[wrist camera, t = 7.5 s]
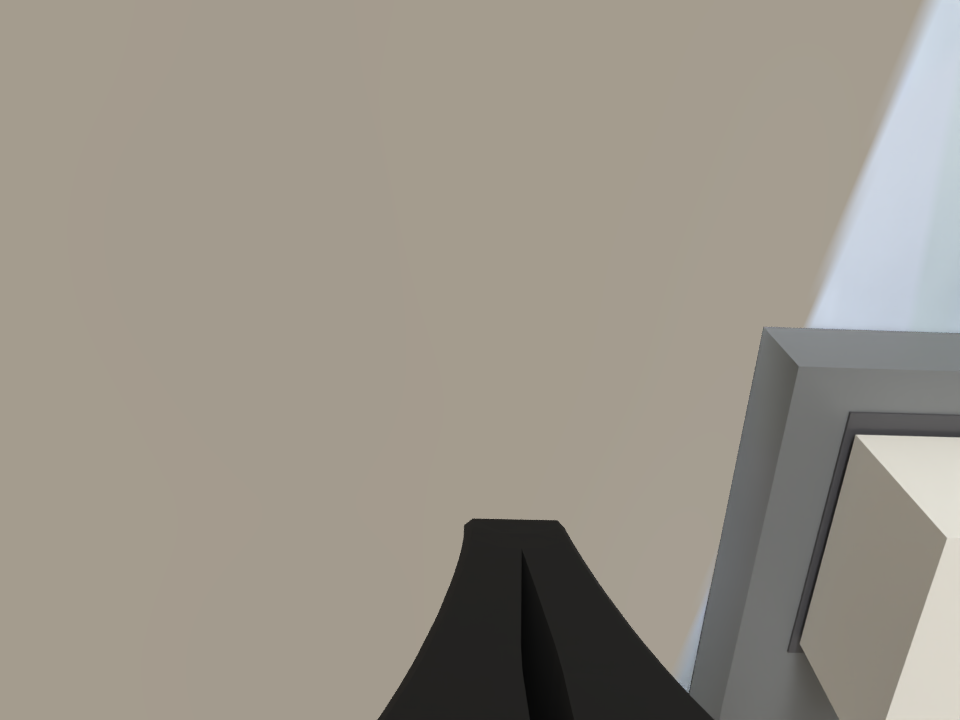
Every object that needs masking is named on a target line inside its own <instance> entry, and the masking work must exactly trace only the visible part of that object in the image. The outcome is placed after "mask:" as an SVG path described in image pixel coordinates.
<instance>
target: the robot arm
mask: <svg viewBox="0 0 960 720" xmlns="http://www.w3.org/2000/svg"><path fill="white" fill-rule="evenodd" d="M378 720H714V719H713V718H712V717H711V716H710V715H709V714H708V713H707V712H706V711H705V710H704V709H703V708H702V707H701V706H700V705H699V704H698V703H697V702H696V701H695V700H694V699H693V698H692V697H691V696H690V695H689V694H688V693H687V691H686V690H685V689H684V688H683V687H682V686H681V685H680V684H679V683H678V682H677V681H676V680H675V679H674V677H673V676H672V675H671V674H670V673H669V672H668V671H667V670H666V668H665V667H664V666H663V665H662V664H661V663H660V662H659V660H658V659H657V658H656V657H655V656H654V654H653V653H652V652H651V651H650V650H649V649H648V647H647V646H646V645H645V644H644V643H643V641H642V640H641V639H640V638H639V636H638V635H637V634H636V633H635V631H634V630H633V629H632V628H631V626H630V625H629V624H628V622H627V621H626V620H625V618H624V617H623V616H622V614H621V613H620V612H619V610H618V609H617V608H616V606H615V605H614V604H613V602H612V601H611V600H610V599H609V597H608V596H607V594H606V593H605V591H604V590H603V588H602V587H601V586H600V584H599V583H598V581H597V580H596V578H595V577H594V575H593V574H592V572H591V571H590V569H589V568H588V566H587V565H586V563H585V562H584V560H583V559H582V557H581V555H580V554H579V552H578V551H577V549H576V548H575V546H574V544H573V542H572V541H571V539H570V537H569V536H568V534H567V532H566V530H565V528H564V527H563V526H562V525H561V524H560V523H559V522H558V521H556V520H508V519H472V520H470V521H469V522H468V523H467V524H465V525H464V539H463V545H462V549H461V553H460V557H459V561H458V563H457V566H456V569H455V573H454V576H453V578H452V581H451V584H450V586H449V589H448V591H447V593H446V596H445V598H444V601H443V603H442V606H441V608H440V610H439V613H438V615H437V617H436V619H435V622H434V624H433V625H432V627H431V629H430V631H429V633H428V636H427V637H426V639H425V641H424V643H423V645H422V647H421V649H420V651H419V653H418V655H417V657H416V659H415V660H414V662H413V664H412V666H411V668H410V669H409V671H408V673H407V674H406V676H405V678H404V679H403V681H402V683H401V685H400V686H399V688H398V689H397V691H396V692H395V694H394V696H393V697H392V699H391V700H390V702H389V704H388V705H387V707H386V708H385V710H384V711H383V713H382V714H381V716H380V717H379V718H378Z"/></svg>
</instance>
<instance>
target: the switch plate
mask: <svg viewBox="0 0 960 720" xmlns="http://www.w3.org/2000/svg"><path fill="white" fill-rule="evenodd" d="M855 435H887V436H924V437H960V333H932V332H902V331H872V330H842V329H812V328H780V327H764V328H763V332H762V337H761V342H760V347H759V352H758V357H757V362H756V367H755V372H754V377H753V382H752V387H751V391H750V396H749V402H748V406H747V411H746V416H745V421H744V426H743V431H742V436H741V441H740V446H739V451H738V456H737V461H736V466H735V471H734V476H733V480H732V485H731V490H730V495H729V500H728V505H727V510H726V516H725V520H724V525H723V530H722V535H721V540H720V545H719V550H718V555H717V560H716V565H715V569H714V574H713V579H712V584H711V589H710V594H709V599H708V604H707V609H706V614H705V619H704V624H703V629H702V634H701V639H700V644H699V649H698V654H697V658H696V663H695V668H694V673H693V678H692V683H691V688H690V693H689V695H690V696H691V697H692V698H693V699H694V700H695V701H696V702H697V703H698V704H699V705H700V706H701V707H702V708H703V709H704V710H705V711H706V712H707V713H708V714H709V715H710V716H711V717H712V718H713V719H714V720H839V718H838V716H837V714H836V712H835V710H834V708H833V707H832V705H831V703H830V701H829V699H828V697H827V695H826V693H825V691H824V689H823V687H822V685H821V684H820V682H819V680H818V678H817V676H816V674H815V672H814V670H813V668H812V666H811V664H810V662H809V660H808V659H807V657H806V655H805V653H804V651H803V649H802V647H801V645H800V641H801V637H802V633H803V630H804V626H805V622H806V618H807V615H808V611H809V607H810V603H811V600H812V596H813V592H814V588H815V585H816V581H817V577H818V573H819V570H820V566H821V562H822V558H823V555H824V551H825V547H826V543H827V540H828V536H829V532H830V528H831V525H832V521H833V517H834V513H835V510H836V506H837V502H838V498H839V495H840V491H841V487H842V483H843V480H844V476H845V472H846V469H847V465H848V461H849V457H850V454H851V450H852V446H853V442H854V439H855Z"/></svg>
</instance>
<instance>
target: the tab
mask: <svg viewBox="0 0 960 720" xmlns="http://www.w3.org/2000/svg"><path fill="white" fill-rule="evenodd" d="M800 645H801V647H802V649H803V651H804V653H805V655H806V657H807V659H808V660H809V662H810V664H811V666H812V668H813V670H814V672H815V674H816V676H817V678H818V680H819V682H820V684H821V685H822V687H823V689H824V691H825V693H826V695H827V697H828V699H829V701H830V703H831V705H832V707H833V708H834V710H835V712H836V714H837V716H838V718H839V720H960V437H924V436H887V435H855V439H854V442H853V446H852V450H851V454H850V457H849V461H848V465H847V469H846V472H845V476H844V480H843V483H842V487H841V491H840V495H839V498H838V502H837V506H836V510H835V513H834V517H833V521H832V525H831V528H830V532H829V536H828V540H827V543H826V547H825V551H824V555H823V558H822V562H821V566H820V570H819V573H818V577H817V581H816V585H815V588H814V592H813V596H812V600H811V603H810V607H809V611H808V615H807V618H806V622H805V626H804V630H803V633H802V637H801V641H800Z"/></svg>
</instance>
